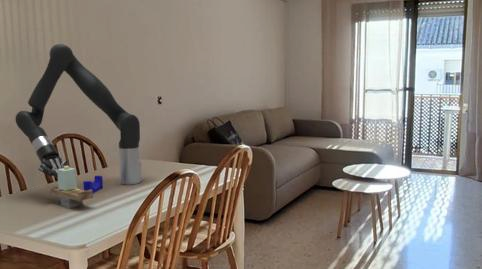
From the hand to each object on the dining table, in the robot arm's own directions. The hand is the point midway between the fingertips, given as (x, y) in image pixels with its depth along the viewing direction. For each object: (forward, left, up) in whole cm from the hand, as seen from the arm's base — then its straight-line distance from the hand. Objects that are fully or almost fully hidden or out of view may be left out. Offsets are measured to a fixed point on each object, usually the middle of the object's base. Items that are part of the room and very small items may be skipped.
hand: (63, 181), depth 188 cm
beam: (0, +5, -9) cm, 10 cm away
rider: (0, +3, -2) cm, 4 cm away
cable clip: (-18, -7, -9) cm, 21 cm away
